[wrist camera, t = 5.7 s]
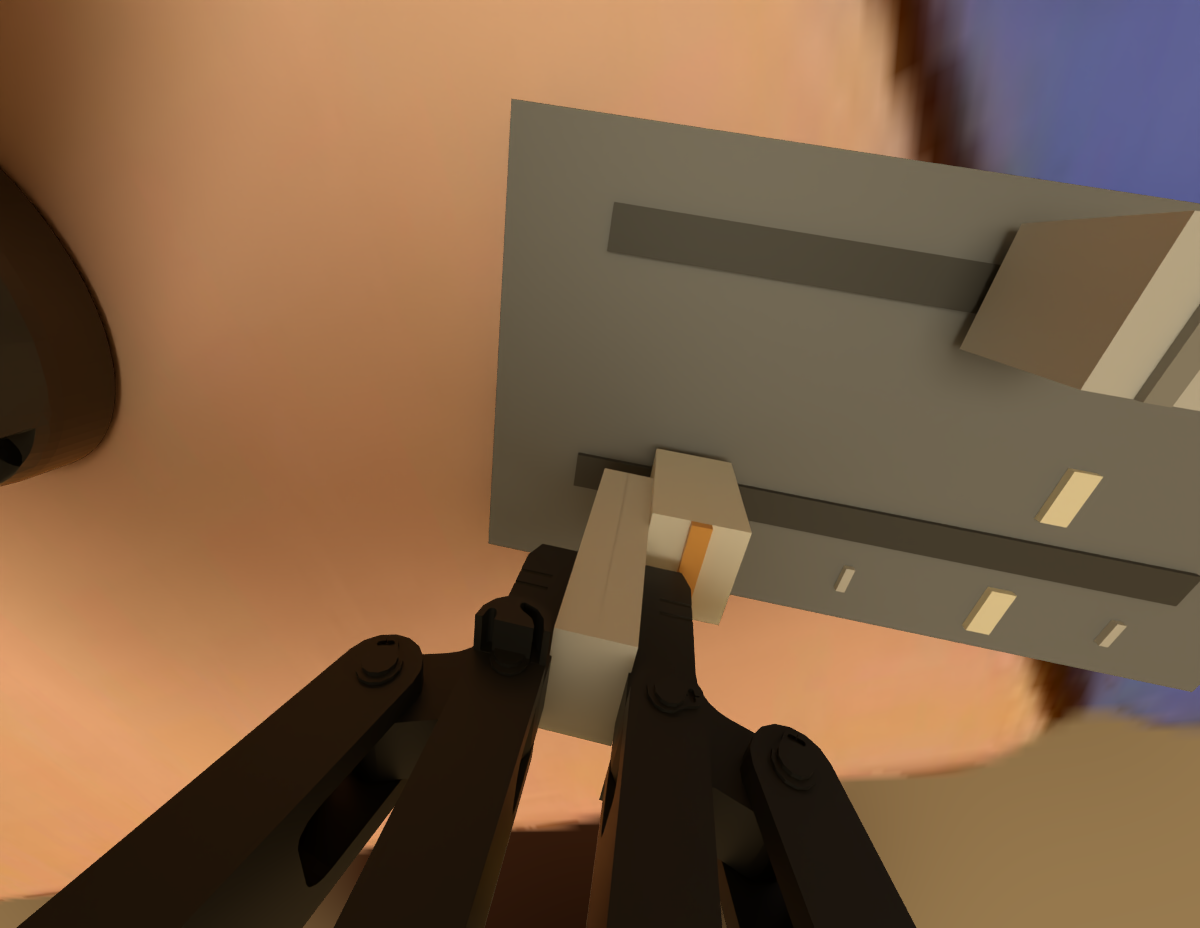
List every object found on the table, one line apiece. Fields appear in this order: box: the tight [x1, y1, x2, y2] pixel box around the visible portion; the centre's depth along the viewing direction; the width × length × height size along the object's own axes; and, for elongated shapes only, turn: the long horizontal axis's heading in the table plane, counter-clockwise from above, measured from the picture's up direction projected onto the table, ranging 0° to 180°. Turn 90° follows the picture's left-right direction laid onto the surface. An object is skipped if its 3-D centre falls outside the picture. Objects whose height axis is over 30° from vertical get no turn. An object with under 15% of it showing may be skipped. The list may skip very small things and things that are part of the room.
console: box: [488, 99, 1200, 692], centre depth 15 cm, size 26×14×2 cm, turn 81°
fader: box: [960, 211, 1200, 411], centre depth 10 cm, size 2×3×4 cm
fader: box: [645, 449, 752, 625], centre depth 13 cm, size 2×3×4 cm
